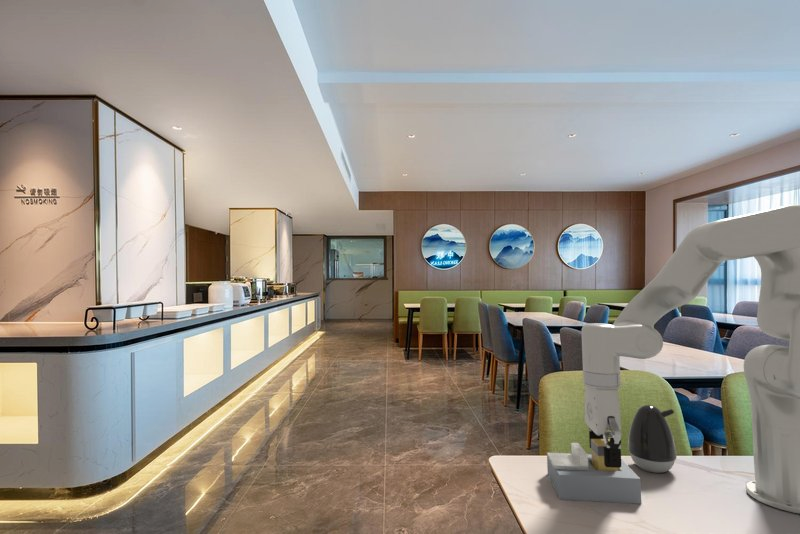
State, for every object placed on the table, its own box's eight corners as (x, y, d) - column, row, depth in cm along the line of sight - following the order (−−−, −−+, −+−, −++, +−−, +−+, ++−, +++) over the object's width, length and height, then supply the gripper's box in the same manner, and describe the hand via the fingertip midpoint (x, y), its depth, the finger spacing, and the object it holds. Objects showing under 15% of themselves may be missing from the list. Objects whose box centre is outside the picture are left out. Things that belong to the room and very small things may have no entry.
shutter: (578, 457, 96) (578, 442, 96) (588, 470, 89) (587, 454, 89) (547, 456, 97) (546, 441, 97) (554, 469, 90) (553, 453, 90)
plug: (610, 484, 94) (609, 439, 94) (619, 493, 89) (617, 445, 90) (592, 483, 94) (590, 438, 94) (599, 492, 90) (597, 445, 90)
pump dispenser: (686, 479, 95) (683, 412, 96) (636, 475, 98) (634, 410, 98) (667, 461, 105) (664, 400, 106) (622, 458, 108) (620, 398, 108)
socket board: (618, 477, 97) (617, 455, 97) (641, 503, 85) (640, 478, 85) (547, 473, 99) (546, 452, 99) (560, 499, 87) (559, 474, 87)
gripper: (573, 371, 102) (575, 442, 101) (596, 388, 85) (600, 474, 84) (605, 371, 101) (608, 443, 100) (635, 388, 84) (639, 475, 83)
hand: (604, 457), depth 92 cm, fingers open, 9 cm apart
